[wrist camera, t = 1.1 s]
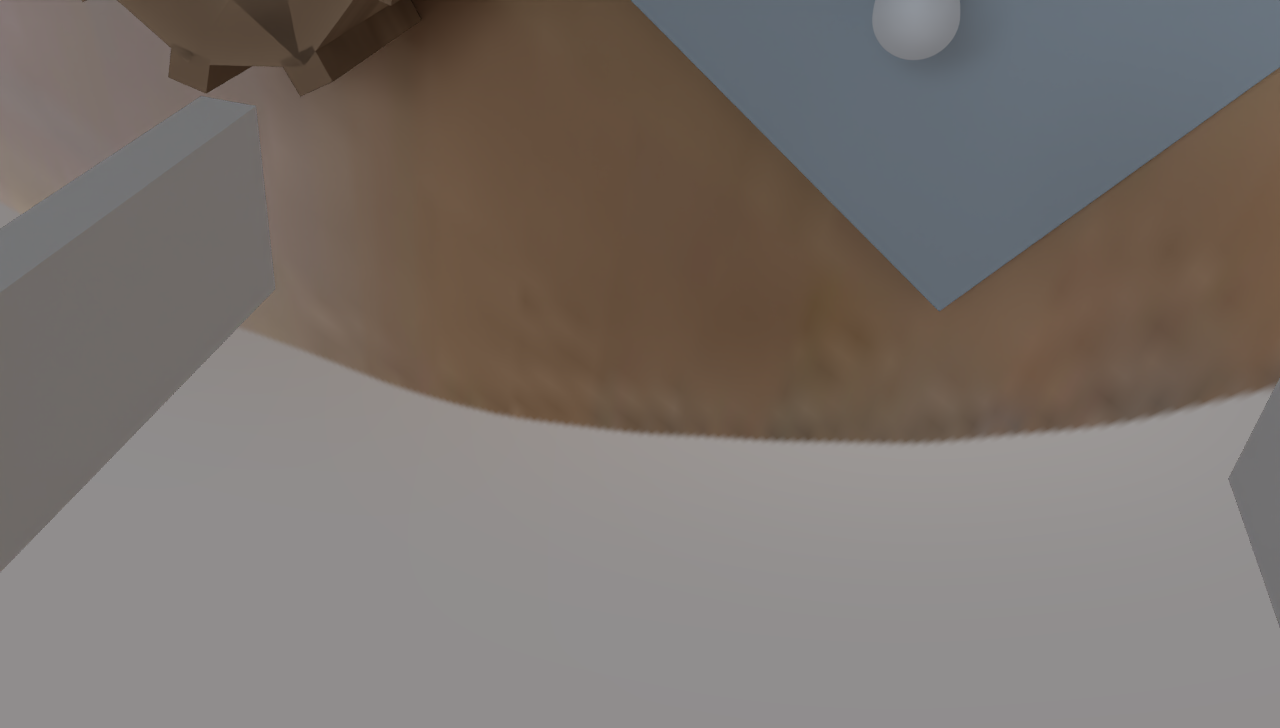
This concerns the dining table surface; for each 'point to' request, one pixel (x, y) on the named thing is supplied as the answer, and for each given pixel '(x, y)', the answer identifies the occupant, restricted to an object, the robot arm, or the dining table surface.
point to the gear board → (971, 106)
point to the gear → (271, 36)
